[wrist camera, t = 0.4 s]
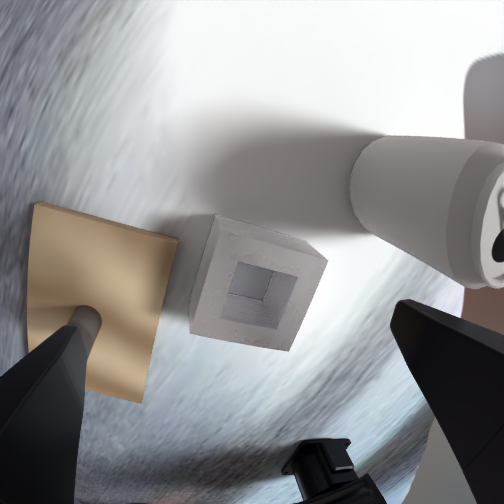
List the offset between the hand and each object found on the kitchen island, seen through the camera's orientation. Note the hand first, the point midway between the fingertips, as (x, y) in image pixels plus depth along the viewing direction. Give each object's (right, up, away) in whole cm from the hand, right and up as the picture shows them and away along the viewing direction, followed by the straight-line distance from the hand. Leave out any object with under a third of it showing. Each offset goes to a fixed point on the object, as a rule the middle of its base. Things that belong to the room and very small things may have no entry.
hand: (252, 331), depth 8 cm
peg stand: (-12, -2, +13) cm, 17 cm away
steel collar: (0, +1, +14) cm, 14 cm away
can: (+10, +7, +14) cm, 18 cm away
